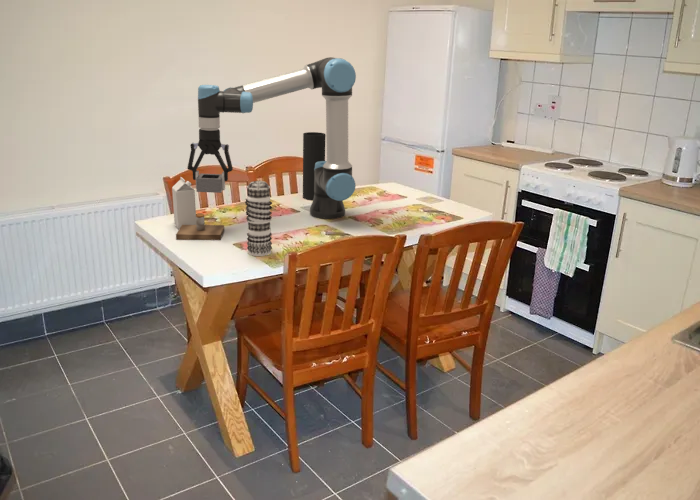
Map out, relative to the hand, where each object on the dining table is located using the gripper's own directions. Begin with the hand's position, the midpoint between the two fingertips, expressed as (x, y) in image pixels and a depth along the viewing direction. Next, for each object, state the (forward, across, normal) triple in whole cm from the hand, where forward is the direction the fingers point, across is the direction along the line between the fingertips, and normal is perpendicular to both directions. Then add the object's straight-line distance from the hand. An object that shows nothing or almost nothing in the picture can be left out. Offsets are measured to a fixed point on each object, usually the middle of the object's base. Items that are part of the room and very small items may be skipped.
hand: (210, 188), depth 229 cm
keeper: (+17, +3, +5) cm, 18 cm away
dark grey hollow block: (0, 0, 0) cm, 0 cm away
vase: (+16, -39, -54) cm, 68 cm away
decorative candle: (+16, -20, +24) cm, 35 cm away
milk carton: (+17, +11, -6) cm, 21 cm away
